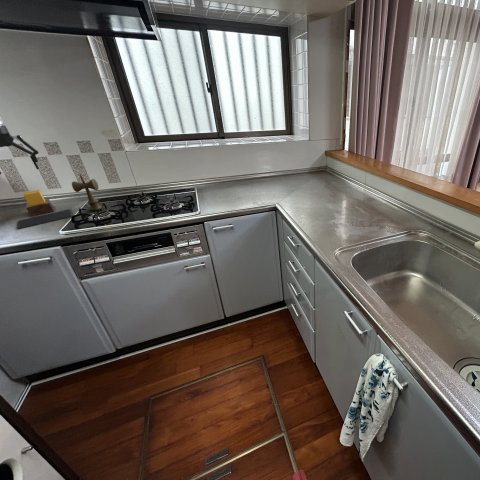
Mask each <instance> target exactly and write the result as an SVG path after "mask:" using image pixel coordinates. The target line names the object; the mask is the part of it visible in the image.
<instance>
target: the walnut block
mask: <svg viewBox="0 0 480 480" xmlns="http://www.w3.org/2000/svg"><path fill="white" fill-rule="evenodd" d="M44 199H45V198H44ZM53 205H54V204H52V202H51V200H50V198H46V199H45V203H43V204H38V205H33V206H30V205H29V204H28V202H26V203H25V209H26V210H27V212H28V213H29V215H30V218H32V217H37V216H41V215H46V214H50V213H55V209H54V208H55V207H54V206H53Z"/></svg>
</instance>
